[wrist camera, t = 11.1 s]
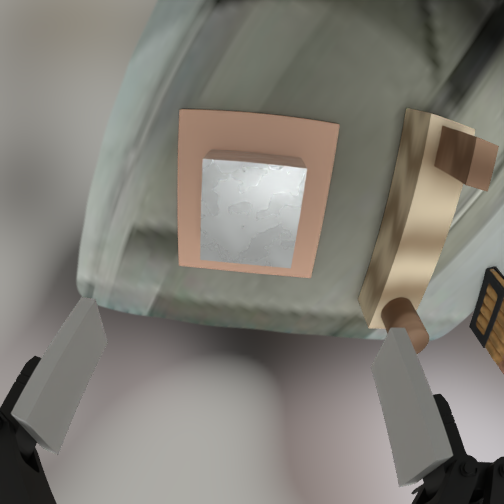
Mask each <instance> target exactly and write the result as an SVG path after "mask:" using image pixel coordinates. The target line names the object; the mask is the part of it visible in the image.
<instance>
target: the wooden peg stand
mask: <svg viewBox="0 0 504 504" xmlns="http://www.w3.org/2000/svg"><path fill="white" fill-rule="evenodd" d="M474 134H475V129H473V128H470V127H468V126H465V125H462V124H460V123H457V122H455V121H452V120H449V119H446V118H443V117H441V116H438V115H435V114H432V113H428V112H423V111H419V110H414V109H409V108H406V112H405V118H404V124H403V130H402V135H401V141H400V146H399V151H398V156H397V161H396V166H395V170H394V175H393V179H392V184H391V188H390V192H389V196H388V200H387V204H386V208H385V212H384V216H383V220H382V223H381V227H380V231H379V234H378V238H377V241H376V245H375V248H374V251H373V255H372V258H371V261H370V264H369V268H368V271H367V274H366V277H365V280H364V283H363V286H362V289H361V292H360V295H359V298H358V301H359V304H360V306H361V309H362V312H363V315H364V317H365V320H366V323H367V326H368V328H381V329H386V331H387V333H388V332H389V330H390V328H405V329H406V331H407V334H408V336H409V338H410V340H411V343H412V345H413V347H414V350H415V352H416V354H418V353H419V352H421V351H422V350H423V349H424V348H425V347H426V345H427V344H428V342H429V335H428V333H427V331H426V329H425V327H424V325H423V323H422V321H421V319H420V318H419V316H418V314H417V312H416V310H417V308H418V306H419V304H420V302H421V300H422V297H423V295H424V293H425V291H426V288H427V286H428V284H429V281H430V279H431V276H432V274H433V272H434V269H435V267H436V264H437V261H438V259H439V256H440V254H441V251H442V248H443V246H444V243H445V240H446V237H447V234H448V231H449V229H450V226H451V223H452V219H453V216H454V213H455V210H456V207H457V203H458V200H459V197H460V193H461V189H462V186H463V184H465V185H467V186H471V187H474V188H478V189H481V190H484V191H488V188H489V184H490V181H491V177H492V173H493V169H494V165H495V161H496V156H497V152H498V147H499V146H497V145H495V144H492V143H490V142H488V141H485V140H483V139H480V138H478V137H475V136H474Z"/></svg>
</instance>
